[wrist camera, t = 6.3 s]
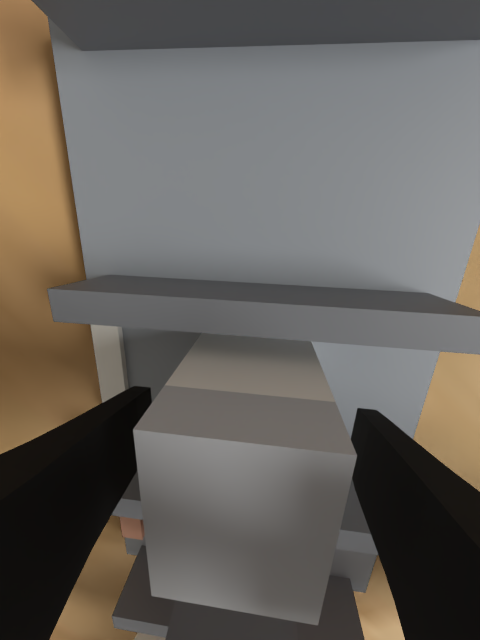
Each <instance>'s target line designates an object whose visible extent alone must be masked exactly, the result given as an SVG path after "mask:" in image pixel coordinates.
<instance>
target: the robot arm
mask: <svg viewBox="0 0 480 640" xmlns="http://www.w3.org/2000/svg"><path fill="white" fill-rule="evenodd" d="M151 404H152V398H151V387H141V386H133V387H131V388H129V389H127V390H125V391H123V392H121V393H119V394H118V395H116V396H114V397H112V398H110V399H109V400H107V401H105V402H103V403H101V404H100V405H98V406H96V407H94V408H92V409H91V410H89V411H87V412H85V413H83V414H82V415H80V416H78V417H76V418H74V419H72V420H70V421H68V422H66V423H65V424H63V425H61V426H59V427H57V428H55V429H53V430H51V431H49V432H47V433H45V434H43V435H41V436H39V437H37V438H35V439H33V440H31V441H29V442H27V443H25V444H23V445H20V446H18V447H16V448H14V449H12V450H9V451H7V452H5V453H2V454H0V640H49V639H50V637H51V634H52V632H53V630H54V628H55V626H56V624H57V621H58V619H59V617H60V615H61V613H62V611H63V609H64V606H65V604H66V602H67V600H68V598H69V596H70V593H71V591H72V589H73V587H74V585H75V583H76V581H77V579H78V577H79V575H80V573H81V571H82V569H83V567H84V565H85V562H86V560H87V558H88V556H89V554H90V552H91V550H92V548H93V547H94V545H95V543H96V541H97V539H98V537H99V535H100V534H101V532H102V530H103V528H104V527H105V525H106V523H107V522H108V520H109V518H110V516H111V515H112V513H113V511H114V510H115V508H116V506H117V504H118V503H119V501H120V499H121V498H122V496H123V494H124V493H125V491H126V489H127V487H128V486H129V484H130V482H131V481H132V479H133V477H134V475H135V474H136V472H137V461H136V452H135V443H134V434H133V429H134V427H135V426H136V425H137V423H138V422H139V420H140V419H141V418H142V416H143V415H144V413H145V412H146V411H147V409H148V408H149V406H150V405H151ZM351 442H352V444H353V447H354V449H355V452H356V454H357V458H356V463H355V467H354V471H353V476H352V480H353V484H354V488H355V491H356V494H357V497H358V500H359V502H360V505H361V508H362V511H363V514H364V516H365V519H366V522H367V525H368V527H369V530H370V533H371V536H372V538H373V541H374V544H375V547H376V549H377V552H378V555H379V558H380V560H381V563H382V566H383V569H384V571H385V574H386V577H387V580H388V583H389V586H390V589H391V592H392V595H393V598H394V602H395V605H396V609H397V612H398V616H399V619H400V623H401V626H402V630H403V633H404V637H405V640H480V492H479V491H478V490H477V489H475V488H474V487H473V486H471V485H470V484H469V483H467V482H466V481H465V480H463V479H462V478H461V477H459V476H458V475H457V474H455V473H454V472H453V471H452V470H450V469H449V468H448V467H446V466H445V465H444V464H443V463H441V462H440V461H439V460H438V459H436V458H435V457H434V456H433V455H431V454H430V453H429V452H428V451H426V450H425V449H424V448H423V447H422V446H420V445H419V444H418V443H417V442H416V441H414V440H413V439H412V438H411V437H410V436H408V435H407V434H406V433H405V432H404V431H402V430H401V429H400V428H399V427H398V426H396V425H395V424H394V423H393V422H391V421H390V420H389V419H388V418H387V417H385V416H384V415H383V414H381V413H380V412H379V411H377V410H373V409H363V408H357V412H356V417H355V421H354V426H353V431H352V435H351Z"/></svg>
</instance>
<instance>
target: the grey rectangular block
mask: <svg viewBox="0 0 480 640" xmlns="http://www.w3.org/2000/svg"><path fill="white" fill-rule="evenodd" d="M133 434H134V443H135V452H136V461H137V470H138V479H139V488H140V497H141V506H142V515H143V524H144V533H145V542H146V551H147V560H148V569H149V578H150V587H151V596H155V597H161V598H166V599H172V600H177V601H183V602H189V603H194V604H200V605H206V606H211V607H217V608H222V609H228V610H234V611H239V612H245V613H251V614H256V615H262V616H267V617H273V618H279V619H284V620H290V621H295V622H301V623H307V624H312V625H318V623H319V618H320V614H321V610H322V605H323V601H324V597H325V592H326V588H327V584H328V579H329V575H330V571H331V566H332V562H333V558H334V553H335V549H336V545H337V540H338V536H339V532H340V527H341V523H342V519H343V514H344V510H345V506H346V502H347V497H348V493H349V489H350V484H351V480H352V476H353V471H354V467H355V463H356V458H357V454H356V452H355V449H354V447H353V444H352V442H351V439H350V437H349V434H348V432H347V429H346V427H345V424H344V422H343V419H342V417H341V414H340V412H339V409H338V407H337V404H336V402H335V399H334V397H333V394H332V392H331V389H330V387H329V384H328V382H327V380H326V377H325V375H324V372H323V370H322V367H321V365H320V362H319V360H318V357H317V355H316V352H315V350H314V347H313V345H312V342H311V341H299V340H286V339H273V338H260V337H247V336H234V335H221V334H208V333H201V335H200V336H199V338H198V339H197V340H196V342H195V343H194V345H193V346H192V348H191V349H190V350H189V352H188V353H187V355H186V356H185V357H184V359H183V360H182V362H181V363H180V364H179V366H178V367H177V369H176V370H175V371H174V373H173V374H172V376H171V377H170V378H169V380H168V381H167V383H166V384H165V385H164V387H163V388H162V390H161V391H160V392H159V394H158V395H157V397H156V398H155V399H154V401H153V402H152V404H151V405H150V406H149V408H148V409H147V411H146V412H145V413H144V415H143V416H142V418H141V419H140V420H139V422H138V423H137V425H136V426H135V427H134V429H133Z"/></svg>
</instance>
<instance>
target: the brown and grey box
mask: <svg viewBox="0 0 480 640" xmlns="http://www.w3.org/2000/svg"><path fill="white" fill-rule="evenodd" d="M165 640H298V635H297V622H295V621H290V620H284V619H279V618H273V617H267V616H262V615H256V614H251V613H245V612H239V611H234V610H228V609H222V608H217V607H211V606H206V605H200V604H194V603H189V602H183V601H177V600H175V604H174V608H173V612H172V615H171V619H170V623H169V627H168V631H167V635H166V638H165Z"/></svg>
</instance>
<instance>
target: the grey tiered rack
mask: <svg viewBox="0 0 480 640" xmlns="http://www.w3.org/2000/svg"><path fill="white" fill-rule="evenodd" d="M32 1H33V2H34V3H35V4H36V5H37V6H38V7H39V8H40V9H41V10H42V11H43V12H44V13H45V14H46V15H47V16H48V22H49V28H50V35H51V42H52V49H53V56H54V62H55V69H56V76H57V83H58V89H59V96H60V103H61V110H62V117H63V123H64V130H65V137H66V144H67V150H68V157H69V164H70V171H71V178H72V184H73V191H74V198H75V205H76V211H77V218H78V225H79V232H80V239H81V245H82V252H83V259H84V266H85V272H86V279H87V280H83V281H79V282H75V283H70V284H66V285H61V286H57V287H53V288H48V289H47V291H48V296H49V301H50V306H51V311H52V316H53V321H54V322H65V323H78V324H90V325H91V332H92V339H93V345H94V352H95V358H96V365H97V372H98V378H99V385H100V391H101V398H102V403H103V402H105V401H107V400H109V399H110V398H112V397H114V396H116V395H118V394H119V393H121V392H123V391H125V390H127V389H129V388H131V387H133V386H141V387H151V398H152V402H153V401H154V399H155V398H156V397H157V395H158V394H159V392H160V391H161V390H162V388H163V387H164V385H165V384H166V383H167V381H168V380H169V378H170V377H171V376H172V374H173V373H174V371H175V370H176V369H177V367H178V366H179V364H180V363H181V362H182V360H183V359H184V357H185V356H186V355H187V353H188V352H189V350H190V349H191V348H192V346H193V345H194V343H195V342H196V340H197V339H198V338H199V336H200V335H201V333H208V334H221V335H234V336H247V337H260V338H273V339H286V340H299V341H311V342H312V345H313V347H314V350H315V352H316V355H317V357H318V360H319V362H320V365H321V367H322V370H323V372H324V375H325V377H326V380H327V382H328V384H329V387H330V389H331V392H332V394H333V397H334V399H335V402H336V404H337V407H338V409H339V412H340V414H341V417H342V419H343V422H344V424H345V427H346V429H347V432H348V434H349V437H350V439H351V435H352V431H353V426H354V421H355V417H356V412H357V408H363V409H373V410H377V411H379V412H380V413H381V414H383V415H384V416H385V417H387V418H388V419H389V420H390V421H391V422H393V423H394V424H395V425H396V426H398V427H399V428H400V429H401V430H402V431H404V432H405V433H406V434H407V435H408V436H410V437H411V438H412V439H413V437H414V434H415V431H416V428H417V424H418V421H419V418H420V415H421V411H422V408H423V405H424V402H425V398H426V395H427V392H428V389H429V385H430V382H431V379H432V376H433V373H434V369H435V366H436V363H437V360H438V356H439V353H440V351H441V352H454V353H467V354H480V311H478V310H475V309H472V308H469V307H466V306H464V305H461V304H458V303H455V301H456V298H457V295H458V292H459V289H460V285H461V282H462V279H463V276H464V272H465V269H466V266H467V263H468V259H469V256H470V253H471V250H472V247H473V243H474V240H475V237H476V234H477V230H478V227H479V224H480V0H32ZM112 515H113V516H119V517H120V524H121V530H122V537H125V543H126V550H127V554H131V555H137V557H136V559H135V562H134V564H133V567H132V569H131V571H130V574H129V576H128V579H127V581H126V583H125V586H124V588H123V591H122V593H121V595H120V598H119V600H118V603H117V605H116V607H115V610H114V612H113V615H112V619H113V624H114V628H117V629H122V630H127V631H133V632H138V633H143V634H148V635H153V636H159V637H164V638H166V635H167V631H168V627H169V623H170V619H171V615H172V612H173V608H174V604H175V600H172V599H166V598H161V597H155V596H151V587H150V578H149V569H148V560H147V551H146V542H145V533H144V524H143V515H142V506H141V497H140V488H139V479H138V470H137V472H136V474H135V475H134V477H133V479H132V481H131V482H130V484H129V486H128V487H127V489H126V491H125V493H124V494H123V496H122V498H121V499H120V501H119V503H118V504H117V506H116V508H115V510H114V511H113V513H112ZM377 555H378V552H377V549H376V547H375V544H374V541H373V538H372V536H371V533H370V530H369V527H368V525H367V522H366V519H365V516H364V514H363V511H362V508H361V505H360V502H359V500H358V497H357V494H356V491H355V488H354V484H353V480H351V484H350V489H349V493H348V497H347V502H346V506H345V510H344V514H343V519H342V523H341V527H340V532H339V536H338V540H337V545H336V549H335V553H334V558H333V562H332V566H331V571H330V575H329V579H328V584H327V588H326V592H325V597H324V601H323V605H322V610H321V614H320V618H319V623H318V625H312V624H307V623H301V622H297V635H298V640H364V636H363V631H362V627H361V623H360V619H359V614H358V610H357V606H356V602H355V597H354V593H353V591H358V592H364V593H365V592H366V589H367V586H368V583H369V579H370V576H371V573H372V570H373V567H374V563H375V560H376V557H377Z"/></svg>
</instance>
